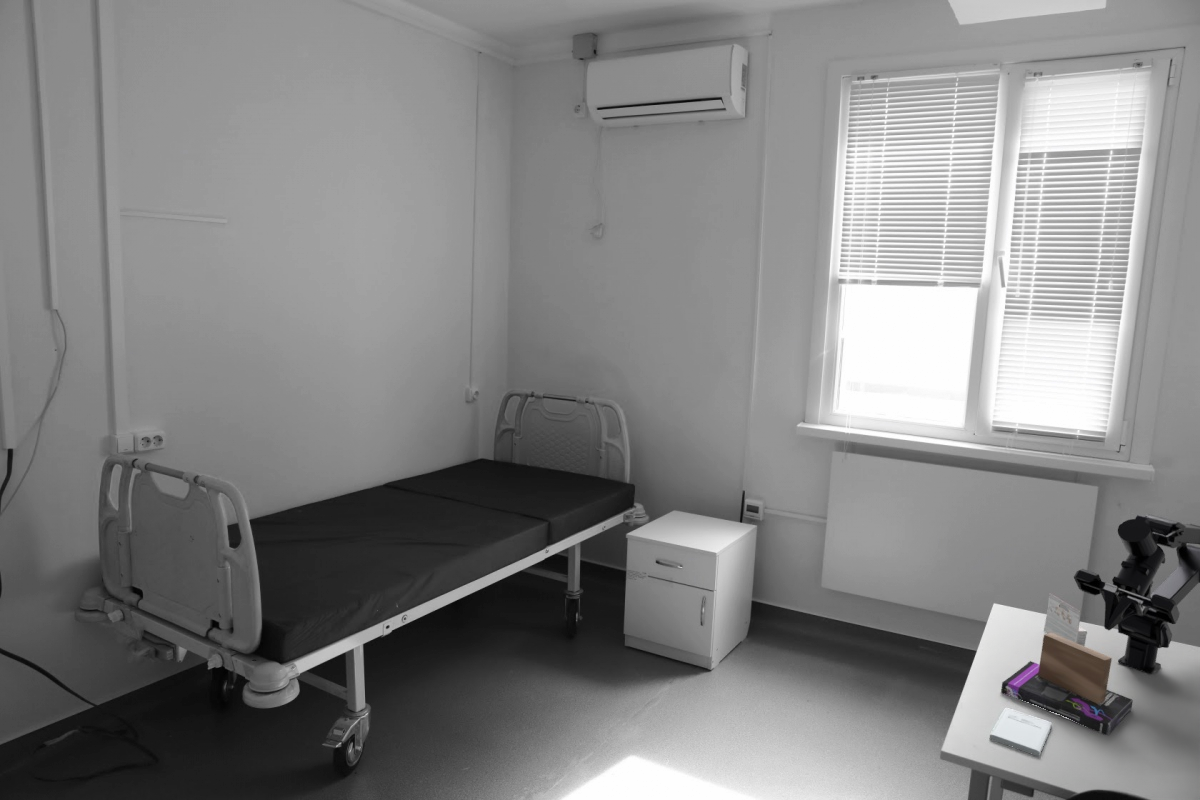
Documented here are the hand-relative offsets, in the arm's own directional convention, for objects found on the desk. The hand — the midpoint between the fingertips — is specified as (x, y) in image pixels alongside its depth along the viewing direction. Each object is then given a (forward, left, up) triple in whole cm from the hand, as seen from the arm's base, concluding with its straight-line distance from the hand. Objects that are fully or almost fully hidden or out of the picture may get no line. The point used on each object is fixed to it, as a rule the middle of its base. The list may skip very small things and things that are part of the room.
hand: (1106, 628), depth 169 cm
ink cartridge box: (-16, -13, -13) cm, 24 cm away
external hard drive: (+33, -1, -13) cm, 35 cm away
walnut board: (+12, -1, -10) cm, 16 cm away
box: (+14, -1, -13) cm, 19 cm away
